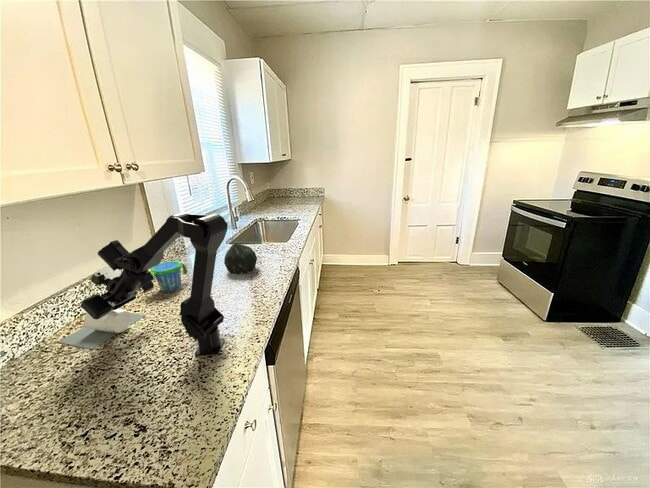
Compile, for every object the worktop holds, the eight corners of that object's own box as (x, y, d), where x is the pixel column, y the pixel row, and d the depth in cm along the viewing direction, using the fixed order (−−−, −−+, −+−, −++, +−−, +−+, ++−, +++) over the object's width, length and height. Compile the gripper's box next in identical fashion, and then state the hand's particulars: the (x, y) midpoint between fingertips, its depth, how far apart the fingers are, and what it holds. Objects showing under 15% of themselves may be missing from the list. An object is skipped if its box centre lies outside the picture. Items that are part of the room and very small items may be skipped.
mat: (145, 317, 97) (145, 315, 97) (92, 351, 80) (91, 349, 80) (115, 312, 101) (114, 310, 100) (58, 344, 84) (57, 341, 84)
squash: (259, 252, 140) (236, 233, 133) (265, 263, 127) (239, 243, 120) (240, 272, 140) (215, 255, 132) (243, 286, 127) (216, 267, 119)
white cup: (135, 307, 91) (110, 302, 93) (112, 311, 83) (86, 306, 85) (132, 331, 91) (106, 326, 93) (109, 337, 83) (82, 332, 85)
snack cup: (157, 299, 108) (152, 275, 104) (145, 292, 113) (139, 269, 110) (195, 284, 120) (191, 262, 116) (182, 278, 125) (178, 257, 122)
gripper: (138, 249, 88) (120, 278, 95) (74, 273, 71) (57, 306, 78) (163, 274, 89) (144, 301, 95) (106, 304, 72) (86, 334, 78)
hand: (111, 309), depth 86 cm, fingers closed
